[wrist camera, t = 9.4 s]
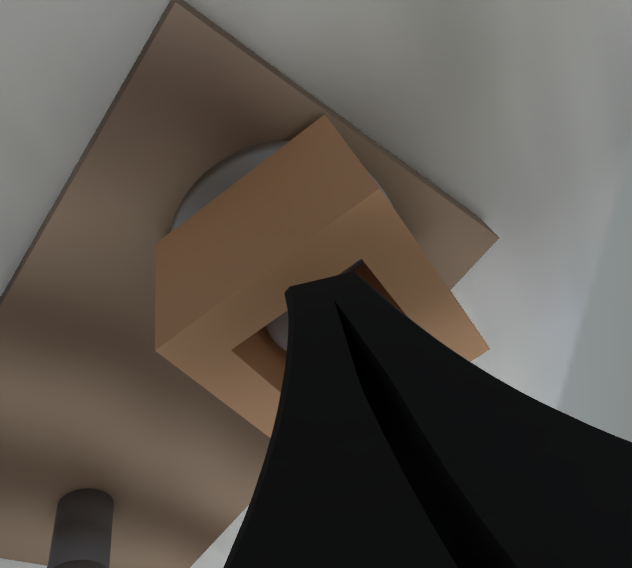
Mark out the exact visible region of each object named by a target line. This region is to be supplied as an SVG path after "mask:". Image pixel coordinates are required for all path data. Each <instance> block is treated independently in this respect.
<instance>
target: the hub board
mask: <svg viewBox="0 0 632 568" xmlns="http://www.w3.org/2000/svg"><path fill="white" fill-rule="evenodd" d="M323 115H326V116H327V118H328V119H329V120H330V122H331V123H332V124H333V126H334V127H335V128H336V130H337V131H338V132H339V134H340V135H341V136H342V138H343V139H344V141H345V142H346V143H347V145H348V146H349V147H350V149H351V150H352V151H353V153H354V154H355V155H356V157H357V158H358V159H359V161H360V162H361V163H362V165H363V166H364V167H365V169H366V170H367V171H368V173H369V174H370V175H371V177H372V178H373V179H374V181H375V182H376V183H377V185H378V186H379V188H380V189H381V190H382V192H383V193H384V195H385V196H386V198H387V199H388V201H389V202H390V204H391V205H392V206H393V208H394V209H395V211H396V212H397V214H398V215H399V217H400V218H401V220H402V221H403V222H404V224H405V225H406V227H407V228H408V230H409V231H410V233H411V234H412V236H413V237H414V238H415V240H416V241H417V243H418V244H419V246H420V247H421V249H422V250H423V252H424V253H425V255H426V256H427V257H428V259H429V260H430V262H431V263H432V265H433V266H434V268H435V269H436V271H437V272H438V273H439V275H440V276H441V278H442V279H443V281H444V282H445V284H446V285H447V287H448V288H449V290H451V289H452V288H453V287H454V286H455V284H456V283H457V282H458V281H459V280H460V279H461V278H462V277H463V276H464V275H465V274H466V273H467V272H468V271H469V270H470V268H471V267H472V266H473V265H474V264H475V263H476V262H477V261H478V260H479V259H480V258H481V257H482V256H483V255H484V254H485V252H486V251H487V250H488V249H489V248H490V247H491V246H492V245H493V244H494V243H495V242H496V241H497V240H498V239H499V237H498V236H497V235H496V234H495V233H494V232H493V231H492V230H491V229H490V228H489V227H488V226H487V225H486V224H485V223H484V222H483V221H482V220H481V219H479V218H478V217H477V216H475V215H474V214H473V213H471V212H470V211H469V210H467V209H466V208H464V207H463V206H462V205H460V204H459V203H458V202H456V201H455V200H454V199H452V198H451V197H450V196H448V195H447V194H445V193H444V192H443V191H441V190H440V189H439V188H437V187H436V186H435V185H433V184H432V183H430V182H429V181H428V180H426V179H425V178H424V177H422V176H421V175H420V174H418V173H417V172H416V171H414V170H413V169H411V168H410V167H409V166H407V165H406V164H405V163H403V162H402V161H401V160H399V159H398V158H396V157H395V156H394V155H392V154H391V153H390V152H388V151H387V150H386V149H384V148H383V147H382V146H380V145H379V144H377V143H376V142H375V141H373V140H372V139H371V138H369V137H368V136H367V135H365V134H364V133H362V132H361V131H360V130H358V129H357V128H356V127H354V126H353V125H352V124H350V123H349V122H348V121H346V120H345V119H343V118H342V117H341V116H339V115H338V114H337V113H335V112H334V111H333V110H331V109H330V108H328V107H327V106H326V105H324V104H323V103H322V102H320V101H319V100H318V99H316V98H315V97H313V96H312V95H311V94H309V93H308V92H307V91H305V90H304V89H303V88H301V87H300V86H299V85H297V84H296V83H294V82H293V81H292V80H290V79H289V78H288V77H286V76H285V75H284V74H282V73H281V72H279V71H278V70H277V69H275V68H274V67H273V66H271V65H270V64H269V63H267V62H266V61H265V60H263V59H262V58H260V57H259V56H258V55H256V54H255V53H254V52H252V51H251V50H250V49H248V48H247V47H245V46H244V45H243V44H241V43H240V42H239V41H237V40H236V39H235V38H233V37H232V36H231V35H229V34H228V33H226V32H225V31H224V30H222V29H221V28H220V27H218V26H217V25H216V24H214V23H213V22H211V21H210V20H209V19H207V18H206V17H205V16H203V15H202V14H201V13H199V12H198V11H197V10H195V9H194V8H192V7H191V6H190V5H188V4H187V3H186V2H184V1H183V0H171V1H170V2H169V4H168V6H167V8H166V9H165V11H164V13H163V15H162V16H161V18H160V20H159V22H158V23H157V25H156V27H155V29H154V30H153V32H152V34H151V36H150V37H149V39H148V41H147V43H146V44H145V46H144V48H143V50H142V51H141V53H140V55H139V57H138V58H137V60H136V62H135V64H134V65H133V67H132V69H131V71H130V72H129V74H128V76H127V78H126V79H125V81H124V83H123V85H122V86H121V88H120V90H119V92H118V93H117V95H116V97H115V99H114V100H113V102H112V104H111V106H110V107H109V109H108V111H107V113H106V114H105V116H104V118H103V120H102V121H101V123H100V125H99V127H98V128H97V130H96V132H95V134H94V135H93V137H92V139H91V141H90V142H89V144H88V146H87V148H86V149H85V151H84V153H83V155H82V156H81V158H80V160H79V162H78V163H77V165H76V167H75V169H74V170H73V172H72V174H71V176H70V177H69V179H68V181H67V183H66V184H65V186H64V188H63V190H62V191H61V193H60V195H59V197H58V198H57V200H56V202H55V204H54V205H53V207H52V209H51V211H50V212H49V214H48V216H47V218H46V219H45V221H44V223H43V225H42V226H41V228H40V230H39V232H38V233H37V235H36V237H35V239H34V240H33V242H32V244H31V246H30V247H29V249H28V251H27V253H26V254H25V256H24V258H23V260H22V261H21V263H20V265H19V267H18V268H17V270H16V272H15V274H14V275H13V277H12V279H11V281H10V282H9V284H8V286H7V288H6V289H5V291H4V293H3V295H2V296H1V298H0V558H3V559H10V560H16V561H23V562H29V563H35V564H42V565H48V566H47V568H190V567H191V566H192V565H193V564H194V562H195V561H196V560H197V559H198V558H199V557H200V556H201V555H202V554H203V553H204V552H205V551H206V550H207V549H208V548H209V546H210V545H211V544H212V543H213V542H214V541H215V540H216V539H217V538H218V537H219V536H220V535H221V534H222V533H223V532H224V531H225V529H226V528H227V527H228V526H229V525H230V524H231V523H232V522H233V521H234V520H235V519H236V518H237V517H238V516H239V515H240V513H241V512H242V511H243V510H244V509H245V508H246V507H247V506H248V505H249V504H250V501H251V499H252V496H253V493H254V490H255V487H256V484H257V481H258V478H259V475H260V472H261V469H262V466H263V463H264V459H265V456H266V453H267V449H268V445H269V442H270V437H268V436H267V435H266V434H264V433H263V432H262V431H260V430H259V429H258V428H256V427H255V426H254V425H252V424H251V423H250V422H248V421H247V420H246V419H245V418H243V417H242V416H241V415H239V414H238V413H237V412H235V411H234V410H233V409H231V408H230V407H229V406H227V405H226V404H225V403H223V402H222V401H221V400H219V399H218V398H217V397H216V396H214V395H213V394H212V393H210V392H209V391H208V390H206V389H205V388H204V387H202V386H201V385H200V384H198V383H197V382H196V381H194V380H193V379H192V378H190V377H189V376H188V375H187V374H185V373H184V372H183V371H181V370H180V369H179V368H177V367H176V366H175V365H173V364H172V363H171V362H169V361H168V360H167V359H165V358H164V357H163V356H162V355H160V354H159V353H158V352H156V351H155V261H156V243H157V242H158V241H160V240H161V239H162V238H164V237H165V236H166V235H167V234H169V233H170V232H171V231H173V230H174V229H175V228H177V227H178V226H179V225H181V224H182V223H183V222H184V221H186V220H187V219H188V218H190V217H191V216H192V215H194V214H195V213H196V212H198V211H199V210H200V209H202V208H203V207H204V206H205V205H207V204H208V203H209V202H211V201H212V200H213V199H215V198H216V197H217V196H219V195H220V194H221V193H222V192H224V191H225V190H226V189H228V188H229V187H230V186H232V185H233V184H234V183H236V182H237V181H238V180H239V179H241V178H242V177H243V176H245V175H246V174H247V173H249V172H250V171H251V170H253V169H254V168H255V167H256V166H258V165H259V164H260V163H262V162H263V161H264V160H266V159H267V158H268V157H270V156H271V155H272V154H274V153H275V152H276V151H277V150H279V149H280V148H281V147H283V146H284V145H285V144H287V143H288V142H289V141H291V140H292V139H293V138H294V137H296V136H297V135H298V134H300V133H301V132H302V131H304V130H305V129H306V128H308V127H309V126H310V125H311V124H313V123H314V122H315V121H317V120H318V119H319V118H321V117H322V116H323ZM362 263H364V261H363V260H362V259H360V260H359V261H357V262H356V263H354V264H353V265H352V266H350V267H349V268H347V269H346V270H344V271H343V272H342V273H340V274H339V275H341V274H345V273H349V272H351V271H352V270H354V269H355V268H357V267H358V266H360V265H361V264H362ZM266 328H267V330H268V332H269V334H270V336H271V337H272V339H273V340H274V341H275V342H276V343H277V344H278V345H279V346H280V347H281V348H283V349H284V350H286V351H287V342H288V310H287V311H286V312H284V313H283V314H282V315H280V316H279V317H277V318H276V319H274V320H273V321H272V322H270V323H269V324H267V325H266Z"/></svg>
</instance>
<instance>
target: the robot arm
mask: <svg viewBox="0 0 632 568" xmlns="http://www.w3.org/2000/svg"><path fill="white" fill-rule="evenodd" d="M284 294H285V300H286V305H287V310H288V342H287V353H286V363H285V371H284V377H283V383H282V388H281V394H280V399H279V405H278V410H277V414H276V418H275V423H274V427H273V431H272V435H271V438H270V442H269V445H268V449H267V453H266V456H265V459H264V463H263V466H262V469H261V472H260V475H259V478H258V481H257V484H256V487H255V490H254V493H253V496H252V499H251V501H250V504H249V507H248V510H247V512H246V515H245V518H244V520H243V522H242V525H241V527H240V530H239V532H238V534H237V537H236V539H235V542H234V544H233V546H232V549H231V551H230V554H229V556H228V558H227V561H226V563H225V566H224V568H632V442H629V441H627V440H624V439H621V438H619V437H616V436H614V435H612V434H609V433H607V432H605V431H602V430H600V429H597V428H595V427H593V426H590V425H588V424H586V423H584V422H582V421H580V420H578V419H575V418H573V417H571V416H569V415H567V414H565V413H562V412H560V411H558V410H556V409H554V408H552V407H549V406H547V405H545V404H543V403H541V402H539V401H537V400H535V399H533V398H531V397H529V396H527V395H525V394H524V393H522V392H520V391H518V390H516V389H514V388H513V387H511V386H509V385H507V384H506V383H504V382H502V381H500V380H499V379H497V378H495V377H493V376H492V375H490V374H488V373H487V372H485V371H484V370H482V369H480V368H479V367H477V366H476V365H474V364H472V363H471V362H469V361H468V360H466V359H465V358H463V357H462V356H460V355H459V354H457V353H456V352H454V351H453V350H452V349H450V348H449V347H447V346H446V345H444V344H443V343H442V342H440V341H439V340H437V339H436V338H435V337H433V336H432V335H431V334H429V333H428V332H427V331H425V330H424V329H423V328H421V327H420V326H419V325H417V324H416V323H415V322H414V321H412V320H411V319H410V318H408V317H407V316H406V315H405V314H403V313H402V312H401V311H400V310H399V309H397V308H396V307H395V306H394V305H393V304H391V303H390V302H389V301H388V300H387V299H385V298H384V297H383V296H382V295H381V294H380V293H379V292H377V291H376V290H375V289H374V288H373V287H372V286H371V285H370V284H369V283H367V282H366V281H365V280H364V279H363V278H362V277H361V276H360V275H358V274H357V273H355V272H349V273H345V274H341V275H336V276H332V277H328V278H324V279H319V280H315V281H311V282H307V283H302V284H298V285H294V286H290V287H289V288H288V289H287V290H286V291H285V293H284Z"/></svg>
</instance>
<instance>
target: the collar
mask: <svg viewBox="0 0 632 568" xmlns="http://www.w3.org/2000/svg"><path fill="white" fill-rule="evenodd" d="M360 259H362V260H363V261H364V263H362V264H361V265H360V266H358V267H357V268H355V269H354V270H352V271H351V272H355V273H357V274H358V275H360V276H361V277H362V278H363V279H364V280H365V281H366V282H367V283H369V284H370V285H371V286H372V287H373V288H374V289H375V290H376V291H377V292H379V293H380V294H381V295H382V296H383V297H384V298H385V299H387V300H388V301H389V302H390V303H391V304H393V305H394V306H395V307H396V308H397V309H399V310H400V311H401V312H402V313H403V314H405V315H406V316H407V317H408V318H410V319H411V320H412V321H414V322H415V323H416V324H417V325H419V326H420V327H421V328H423V329H424V330H425V331H427V332H428V333H429V334H431V335H432V336H433V337H435V338H436V339H437V340H439V341H440V342H442V343H443V344H444V345H446V346H447V347H449V348H450V349H452V350H453V351H454V352H456V353H457V354H459V355H460V356H462V357H463V358H465V359H466V360H468V361H469V362H470V361H472V360H473V359H475V358H477V357H478V356H480V355H481V354H483V353H484V352H486V351H488V350H489V349H490V348H489V346H488V345H487V343H486V342H485V341H484V339H483V338H482V336H481V335H480V333H479V332H478V330H477V329H476V327H475V326H474V325H473V323H472V322H471V320H470V319H469V317H468V316H467V314H466V313H465V311H464V310H463V308H462V307H461V306H460V304H459V303H458V301H457V300H456V298H455V297H454V295H453V294H452V292H451V291H450V290H449V288H448V287H447V285H446V284H445V282H444V281H443V279H442V278H441V276H440V275H439V273H438V272H437V271H436V269H435V268H434V266H433V265H432V263H431V262H430V260H429V259H428V257H427V256H426V255H425V253H424V252H423V250H422V249H421V247H420V246H419V244H418V243H417V241H416V240H415V238H414V237H413V236H412V234H411V233H410V231H409V230H408V228H407V227H406V225H405V224H404V222H403V221H402V220H401V218H400V217H399V215H398V214H397V212H396V211H395V209H394V208H393V206H392V205H391V204H390V202H389V201H388V199H387V198H386V196H385V195H384V193H383V192H382V190H381V189H380V188H379V186H378V185H377V183H376V182H375V181H374V179H373V178H372V177H371V175H370V174H369V173H368V171H367V170H366V169H365V167H364V166H363V165H362V163H361V162H360V161H359V159H358V158H357V157H356V155H355V154H354V153H353V151H352V150H351V149H350V147H349V146H348V145H347V143H346V142H345V141H344V139H343V138H342V136H341V135H340V134H339V132H338V131H337V130H336V128H335V127H334V126H333V124H332V123H331V122H330V120H329V119H328V118H327V116H326V115H323V116H322V117H321V118H319V119H318V120H317V121H315V122H314V123H313V124H311V125H310V126H309V127H308V128H306V129H305V130H304V131H302V132H301V133H300V134H298V135H297V136H296V137H294V138H293V139H292V140H291V141H289V142H288V143H287V144H285V145H284V146H283V147H281V148H280V149H279V150H277V151H276V152H275V153H274V154H272V155H271V156H270V157H268V158H267V159H266V160H264V161H263V162H262V163H260V164H259V165H258V166H256V167H255V168H254V169H253V170H251V171H250V172H249V173H247V174H246V175H245V176H243V177H242V178H241V179H239V180H238V181H237V182H236V183H234V184H233V185H232V186H230V187H229V188H228V189H226V190H225V191H224V192H222V193H221V194H220V195H219V196H217V197H216V198H215V199H213V200H212V201H211V202H209V203H208V204H207V205H205V206H204V207H203V208H202V209H200V210H199V211H198V212H196V213H195V214H194V215H192V216H191V217H190V218H188V219H187V220H186V221H184V222H183V223H182V224H181V225H179V226H178V227H177V228H175V229H174V230H173V231H171V232H170V233H169V234H167V235H166V236H165V237H164V238H162V239H161V240H160V241H158V242H157V243H156V261H155V351H156V352H158V353H159V354H160V355H162V356H163V357H164V358H165V359H167V360H168V361H169V362H171V363H172V364H173V365H175V366H176V367H177V368H179V369H180V370H181V371H183V372H184V373H185V374H187V375H188V376H189V377H190V378H192V379H193V380H194V381H196V382H197V383H198V384H200V385H201V386H202V387H204V388H205V389H206V390H208V391H209V392H210V393H212V394H213V395H214V396H216V397H217V398H218V399H219V400H221V401H222V402H223V403H225V404H226V405H227V406H229V407H230V408H231V409H233V410H234V411H235V412H237V413H238V414H239V415H241V416H242V417H243V418H245V419H246V420H247V421H248V422H250V423H251V424H252V425H254V426H255V427H256V428H258V429H259V430H260V431H262V432H263V433H264V434H266V435H267V436H268V437H270V438H271V435H272V431H273V427H274V423H275V418H276V414H277V410H278V405H279V399H280V394H281V388H282V383H283V377H284V371H285V363H286V353H287V351H286V350H284V349H283V348H281V347H280V346H279V345H278V344H277V343H276V342H275V341H274V340H273V339H272V337H271V336H270V334H269V332H268V330H267V328H266V325H267V324H269V323H270V322H272V321H273V320H274V319H276V318H277V317H279V316H280V315H282V314H283V313H284V312H286V311H287V305H286V300H285V294H284V293H285V291H286V290H287V289H288V288H289V287H290V286H294V285H298V284H302V283H307V282H311V281H315V280H319V279H324V278H328V277H332V276H336V275H339V274H340V273H342V272H343V271H344V270H346V269H347V268H349V267H350V266H352V265H353V264H354V263H356V262H357V261H359V260H360Z"/></svg>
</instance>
